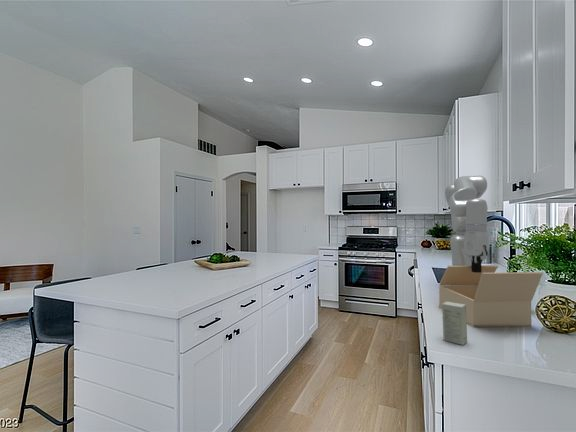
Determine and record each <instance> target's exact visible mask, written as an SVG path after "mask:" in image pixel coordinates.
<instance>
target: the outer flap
mask: <svg viewBox="0 0 576 432" xmlns="http://www.w3.org/2000/svg"><path fill="white" fill-rule="evenodd" d="M543 274H544V272H542V271H541V272H540V271H539V272H538V271H537V272H536V271H535V272H529V271H528V272H526V271H525V272H523V271H522V272H520V271H519V272H516V271H515V272H513V271H512V272H495V273H482V275H481V278H480V281H479V284H478V288H477V291H476V294H475V298H474V301H531V302H533V299H534V297H535V294H536V292H537V289H538V286H539V284H540V281H541V278H542V276H543Z"/></svg>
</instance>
